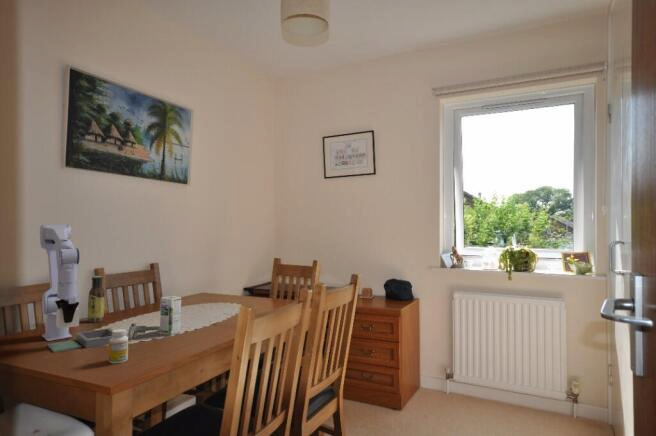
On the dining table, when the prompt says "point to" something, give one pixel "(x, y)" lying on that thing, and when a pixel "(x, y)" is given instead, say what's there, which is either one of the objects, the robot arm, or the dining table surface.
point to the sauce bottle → (96, 300)
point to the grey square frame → (87, 343)
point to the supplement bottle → (118, 346)
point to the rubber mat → (63, 346)
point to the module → (60, 319)
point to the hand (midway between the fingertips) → (66, 321)
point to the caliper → (139, 330)
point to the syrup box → (170, 315)
